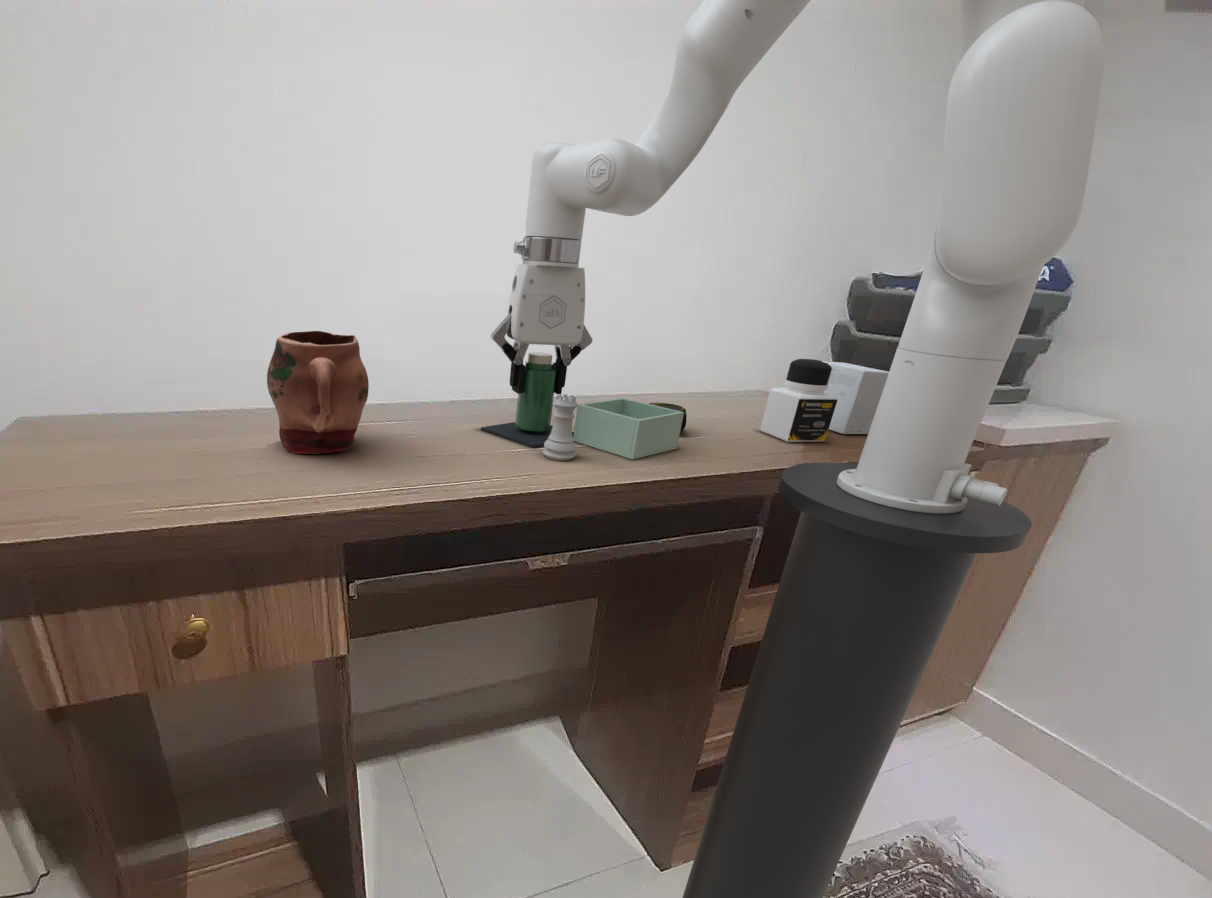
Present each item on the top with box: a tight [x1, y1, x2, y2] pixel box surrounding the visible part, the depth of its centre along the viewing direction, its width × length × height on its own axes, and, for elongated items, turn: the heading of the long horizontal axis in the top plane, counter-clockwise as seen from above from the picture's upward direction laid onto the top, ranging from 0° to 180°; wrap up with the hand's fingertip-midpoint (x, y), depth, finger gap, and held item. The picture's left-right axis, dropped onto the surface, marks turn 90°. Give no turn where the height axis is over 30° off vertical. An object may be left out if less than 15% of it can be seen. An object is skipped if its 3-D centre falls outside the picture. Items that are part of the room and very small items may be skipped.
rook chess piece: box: [542, 393, 579, 462], centre depth 85 cm, size 4×4×8 cm
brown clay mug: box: [266, 330, 370, 455], centre depth 80 cm, size 20×12×14 cm, turn 21°
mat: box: [480, 421, 574, 449], centre depth 96 cm, size 11×11×1 cm
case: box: [573, 397, 684, 460], centre depth 93 cm, size 11×11×5 cm
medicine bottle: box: [759, 358, 838, 443], centre depth 102 cm, size 7×7×12 cm
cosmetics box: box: [824, 360, 889, 435], centre depth 111 cm, size 10×6×10 cm, turn 15°
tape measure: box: [648, 402, 688, 433], centre depth 103 cm, size 7×7×4 cm
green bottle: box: [514, 351, 557, 432], centre depth 94 cm, size 5×5×10 cm
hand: (536, 390), depth 94 cm, fingers closed on green bottle, 5 cm apart
